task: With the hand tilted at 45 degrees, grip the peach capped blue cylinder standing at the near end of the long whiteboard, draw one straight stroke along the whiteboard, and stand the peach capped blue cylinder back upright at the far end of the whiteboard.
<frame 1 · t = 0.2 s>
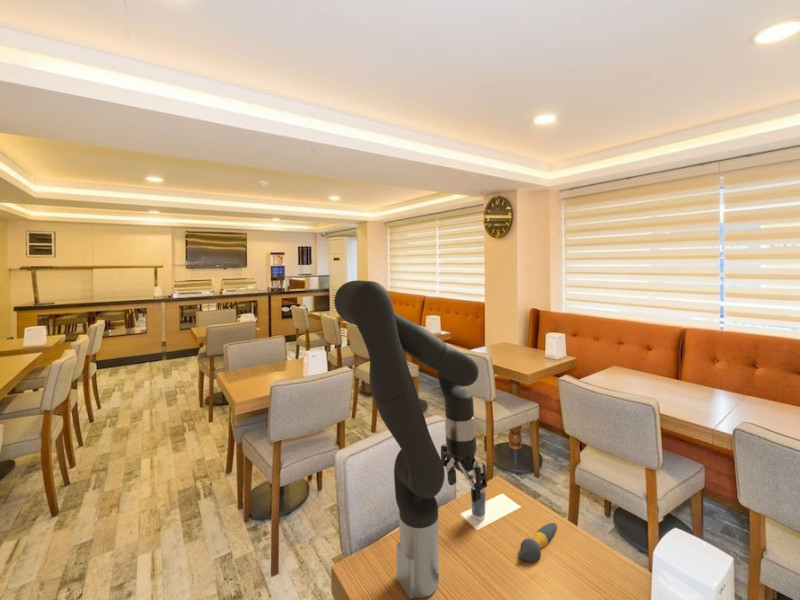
hand: (463, 492, 91), 18 cm above the table, fingers open, 8 cm apart
peach capped blue cylinder: (478, 516, 105), point 1 cm above the table, touching whiteboard
paintbrush: (538, 547, 96), on the table
whiteboard: (490, 514, 108), on the table
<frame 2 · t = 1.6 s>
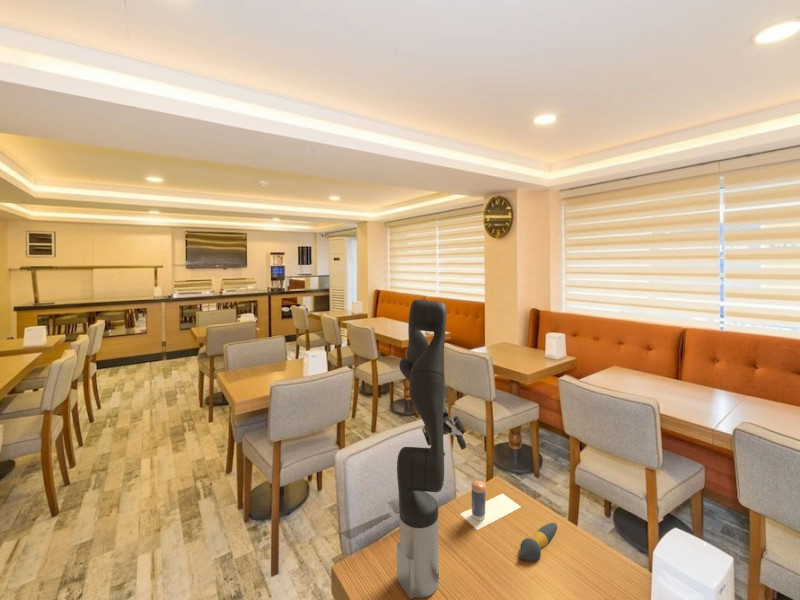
hand: (453, 452, 114), 16 cm above the table, fingers open, 8 cm apart
nothing on the table moved.
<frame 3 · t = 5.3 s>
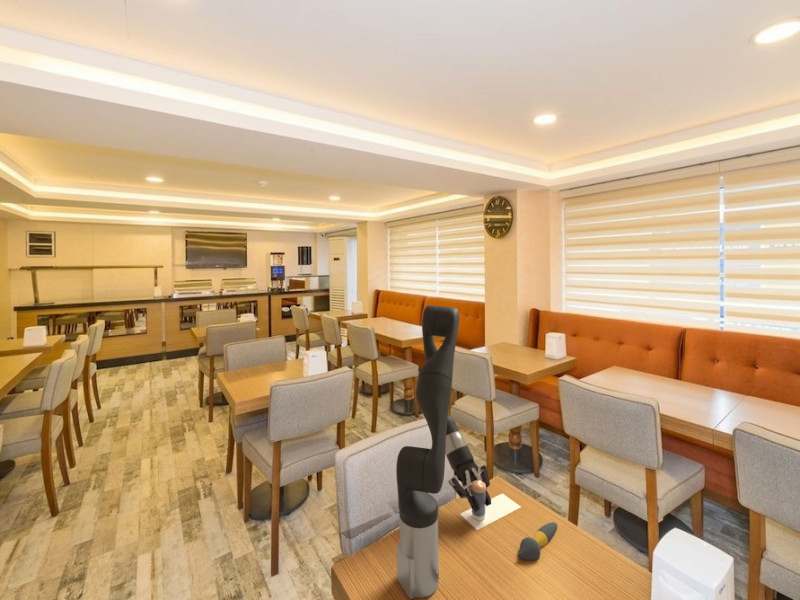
hand: (483, 507, 103), 5 cm above the table, fingers closed on peach capped blue cylinder, 4 cm apart
peach capped blue cylinder: (478, 516, 105), point 1 cm above the table, touching whiteboard, gripper
everything else where it was.
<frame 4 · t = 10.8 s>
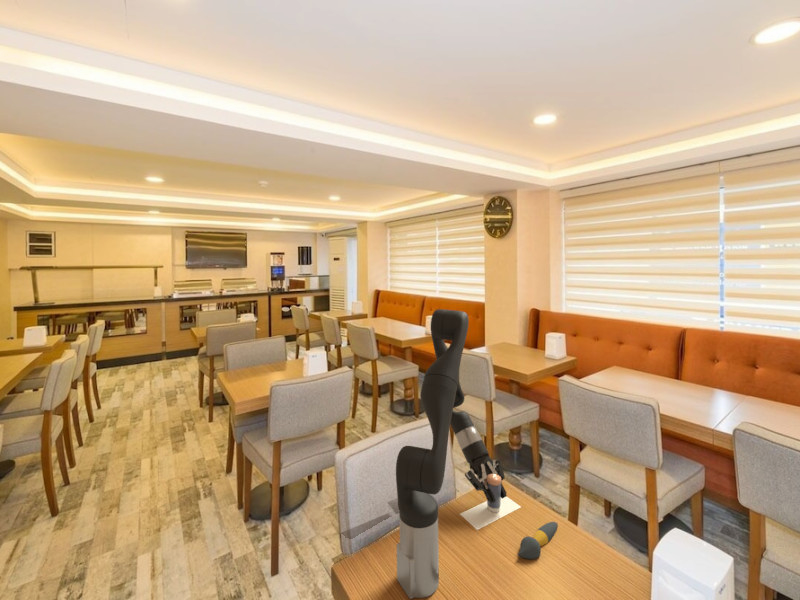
hand: (498, 499, 106), 5 cm above the table, fingers closed on peach capped blue cylinder, 4 cm apart
peach capped blue cylinder: (493, 508, 109), point 1 cm above the table, touching whiteboard, gripper
everything else where it was.
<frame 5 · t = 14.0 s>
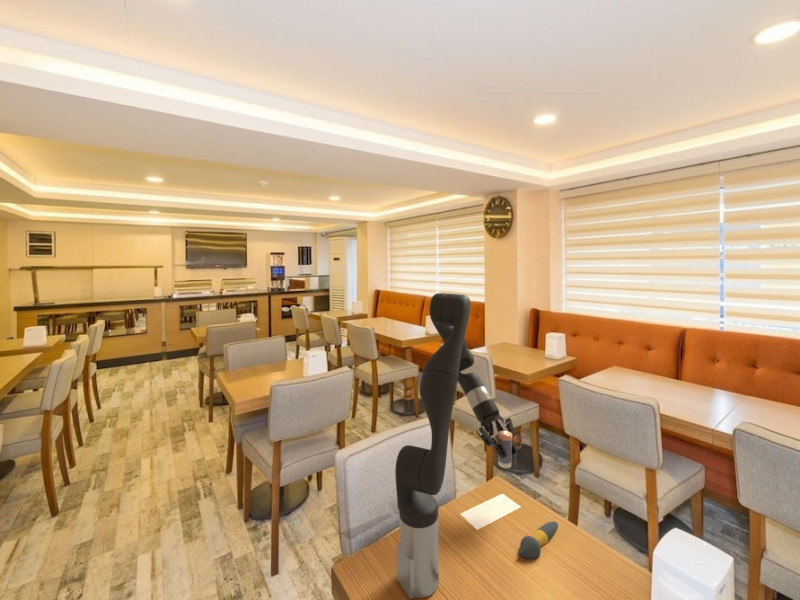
hand: (510, 455, 108), 18 cm above the table, fingers closed on peach capped blue cylinder, 4 cm apart
peach capped blue cylinder: (504, 464, 110), point 14 cm above the table, touching gripper
everything else where it was.
when the fingers open (6 cm above the table, at t = 16.6 s): peach capped blue cylinder stays where it is, resting on whiteboard.
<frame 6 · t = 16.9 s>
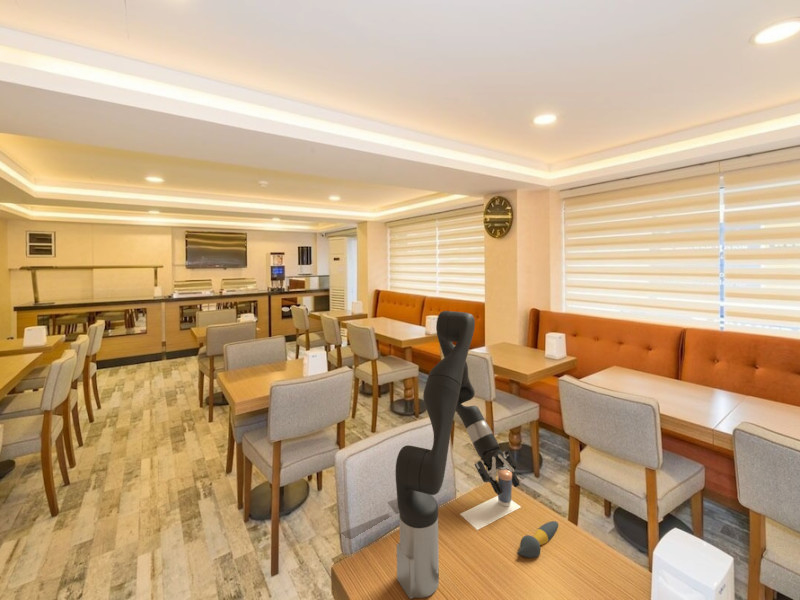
hand: (509, 489, 109), 7 cm above the table, fingers open, 6 cm apart
peach capped blue cylinder: (504, 503, 111), point 1 cm above the table, touching whiteboard
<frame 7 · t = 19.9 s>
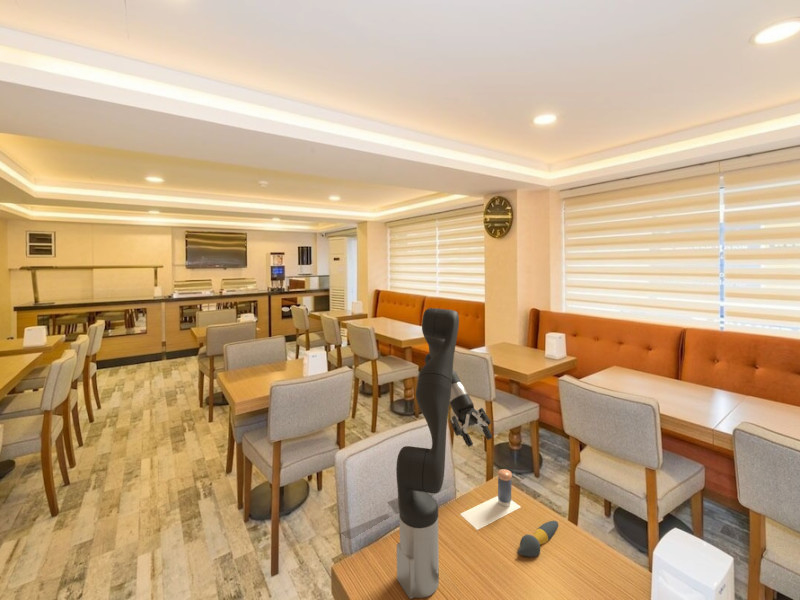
hand: (480, 442, 119), 17 cm above the table, fingers open, 8 cm apart
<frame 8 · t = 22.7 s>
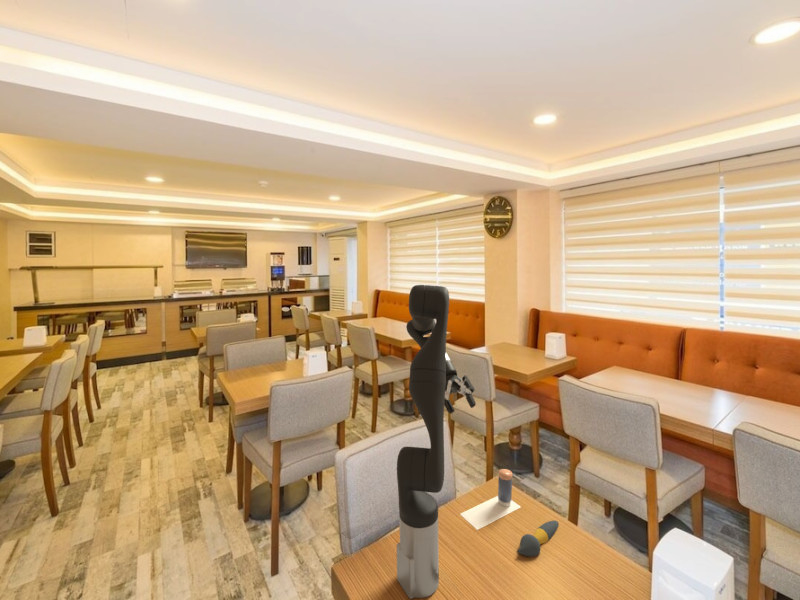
hand: (463, 409, 111), 31 cm above the table, fingers open, 8 cm apart
at the end: peach capped blue cylinder 0.3 cm from the target spot on the whiteboard, point 1.4 cm above the whiteboard's base; peach capped blue cylinder tilted 1°; the gripper is holding nothing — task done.
